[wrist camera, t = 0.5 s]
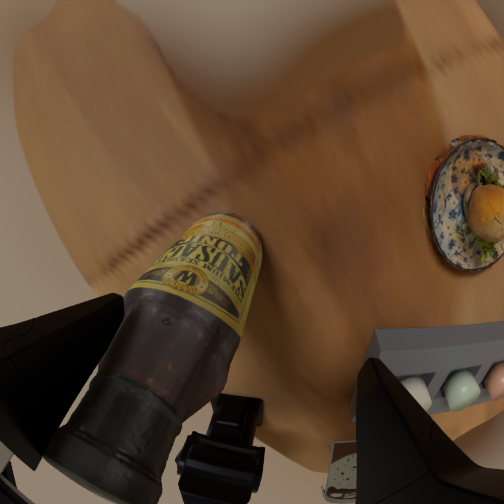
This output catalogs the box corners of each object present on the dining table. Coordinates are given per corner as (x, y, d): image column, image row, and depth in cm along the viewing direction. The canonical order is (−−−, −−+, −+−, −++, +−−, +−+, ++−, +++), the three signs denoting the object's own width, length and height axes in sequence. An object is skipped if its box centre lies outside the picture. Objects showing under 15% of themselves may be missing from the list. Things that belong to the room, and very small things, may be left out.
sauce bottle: (274, 221, 21) (229, 529, 3) (251, 286, 24) (196, 533, 6) (194, 196, 21) (-14, 408, 3) (180, 263, 24) (52, 471, 6)
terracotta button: (498, 381, 21) (505, 396, 18) (478, 386, 21) (486, 403, 19) (512, 359, 19) (521, 374, 17) (493, 363, 20) (502, 380, 17)
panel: (490, 383, 25) (497, 397, 22) (349, 402, 28) (351, 422, 26) (527, 318, 20) (538, 331, 17) (374, 328, 24) (381, 350, 21)
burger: (479, 280, 20) (516, 322, 13) (397, 233, 20) (434, 275, 13) (526, 178, 15) (575, 197, 8) (450, 107, 15) (504, 102, 8)
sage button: (462, 390, 22) (469, 408, 19) (437, 394, 23) (444, 414, 20) (476, 367, 20) (486, 385, 18) (451, 371, 21) (460, 391, 18)
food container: (318, 456, 35) (315, 506, 26) (323, 442, 33) (320, 497, 24) (387, 450, 33) (392, 497, 24) (398, 434, 31) (405, 486, 22)
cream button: (416, 397, 23) (422, 418, 20) (385, 401, 24) (389, 422, 21) (430, 374, 21) (437, 395, 19) (397, 377, 22) (403, 400, 19)
